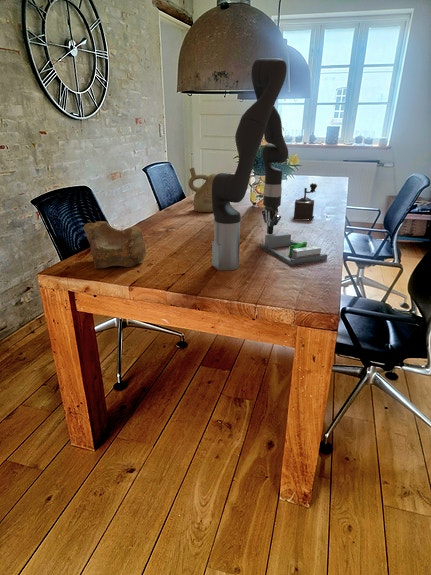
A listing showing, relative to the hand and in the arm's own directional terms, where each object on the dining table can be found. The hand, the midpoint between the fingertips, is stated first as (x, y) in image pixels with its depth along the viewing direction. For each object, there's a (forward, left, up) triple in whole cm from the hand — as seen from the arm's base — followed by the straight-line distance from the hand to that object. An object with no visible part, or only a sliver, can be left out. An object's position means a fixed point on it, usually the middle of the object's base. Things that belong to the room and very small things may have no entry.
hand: (269, 233), depth 168 cm
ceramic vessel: (-3, +70, -4) cm, 71 cm away
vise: (0, -19, -4) cm, 19 cm away
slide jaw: (0, -7, -4) cm, 8 cm away
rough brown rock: (-70, -4, -4) cm, 70 cm away
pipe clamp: (+1, -20, -4) cm, 20 cm away
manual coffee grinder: (+43, +34, -4) cm, 55 cm away
